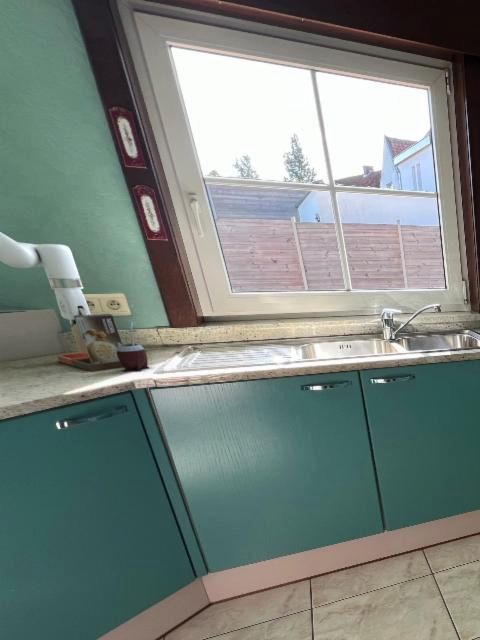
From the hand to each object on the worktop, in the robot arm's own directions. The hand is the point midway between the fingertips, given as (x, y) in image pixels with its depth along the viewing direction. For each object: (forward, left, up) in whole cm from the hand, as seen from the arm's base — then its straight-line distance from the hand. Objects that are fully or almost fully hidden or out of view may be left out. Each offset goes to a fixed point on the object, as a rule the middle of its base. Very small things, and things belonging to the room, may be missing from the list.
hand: (85, 338), depth 170 cm
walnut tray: (0, -14, -7) cm, 16 cm away
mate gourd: (+2, -27, -8) cm, 29 cm away
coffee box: (0, -14, -7) cm, 16 cm away
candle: (0, 0, -5) cm, 5 cm away
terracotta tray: (0, 0, -7) cm, 7 cm away
